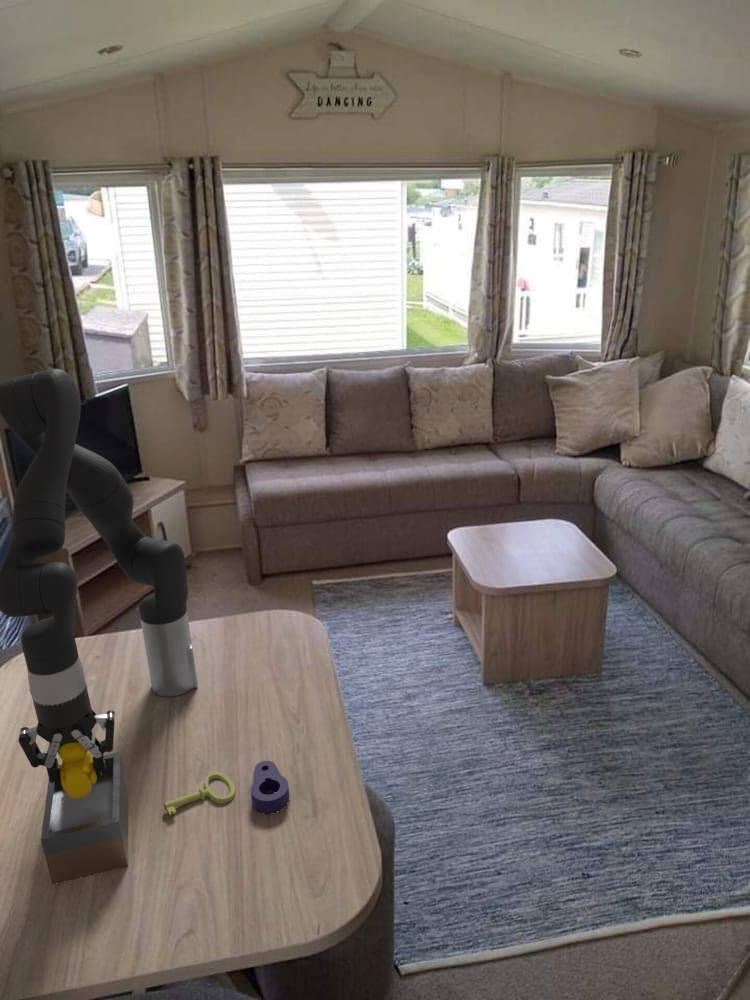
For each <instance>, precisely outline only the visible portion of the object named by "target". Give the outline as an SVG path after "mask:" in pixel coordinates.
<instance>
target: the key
mask: <svg viewBox="0 0 750 1000" xmlns="http://www.w3.org/2000/svg"><path fill="white" fill-rule="evenodd" d="M214 779H219V780H220V781H223V782H224V783H225V784H226V785H227V786H228V788H229V794H228V795H226V796H219V795H217V794H215V793H214V792H213V791H212V789H211V788H210V786H209V784H210V782H211V781H212V780H214ZM203 788H204V789H203ZM203 788H199V789H198V791H196V792H194V793H190V794H188V795H185V796H181V797H179V798H177V799H174V800H170V801H168V802H164V803H163V807H164V811H167V813H168V815H169V816H171V815H175V814H177V810H176V808H177V807H181V806H183V805H186V804H189V803H192V802H195V801H198V800H200V799H201V800H202V801H204V800H206V799H205V798H206V797H208V798H209V800H211V802H214V803H216V804H226V803H230V802H231V801H232V800H233V799H234V798H235V796H236V793H237V790H236V786H235V784H234V782H233V781H232V779H231V778H230V777H228V776H227V775H225V774H224V773H221V772H213V773H210V774H208V775H207V776H206V777H205V779H204V783H203Z"/></svg>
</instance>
